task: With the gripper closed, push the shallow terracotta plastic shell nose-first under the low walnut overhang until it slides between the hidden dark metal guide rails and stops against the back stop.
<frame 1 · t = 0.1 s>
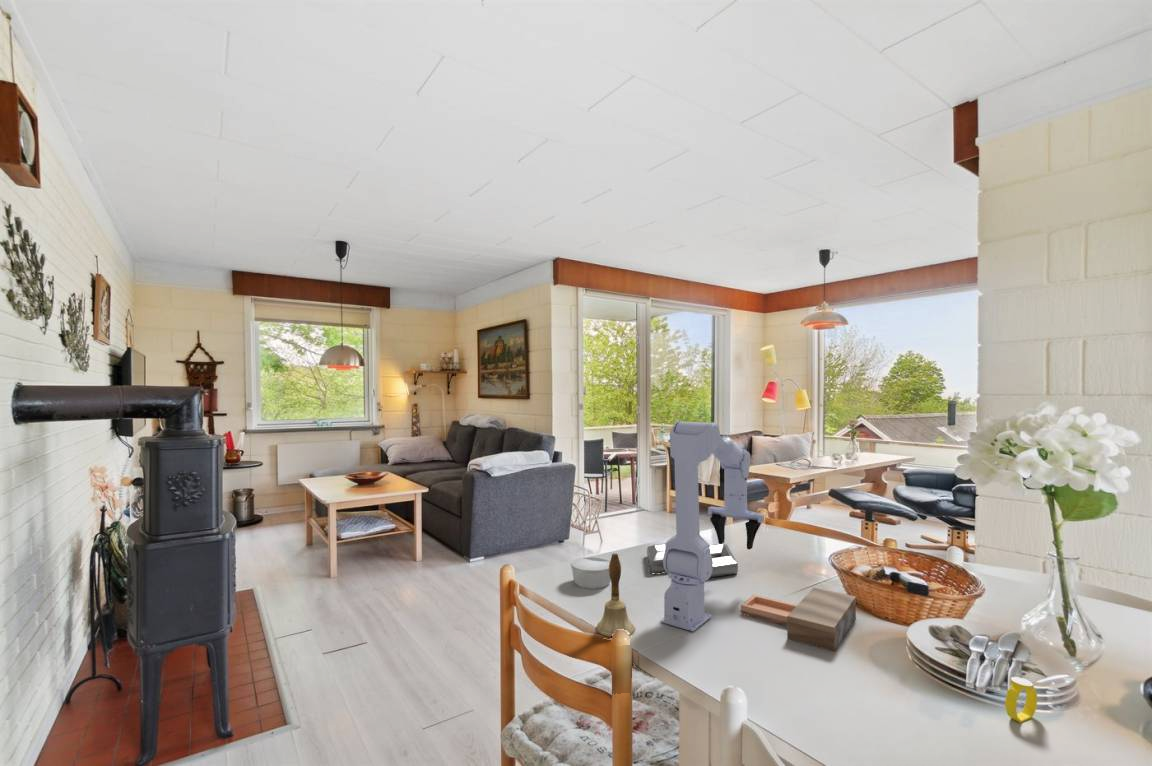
hand: (735, 545, 145), 10 cm above the table, tool pointing down, fingers open, 7 cm apart
hand bell: (615, 629, 118), on the table
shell: (773, 614, 126), on the table
ramekin: (592, 583, 146), on the table
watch: (1021, 719, 87), on the table
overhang: (823, 627, 119), on the table
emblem: (690, 567, 160), on the table
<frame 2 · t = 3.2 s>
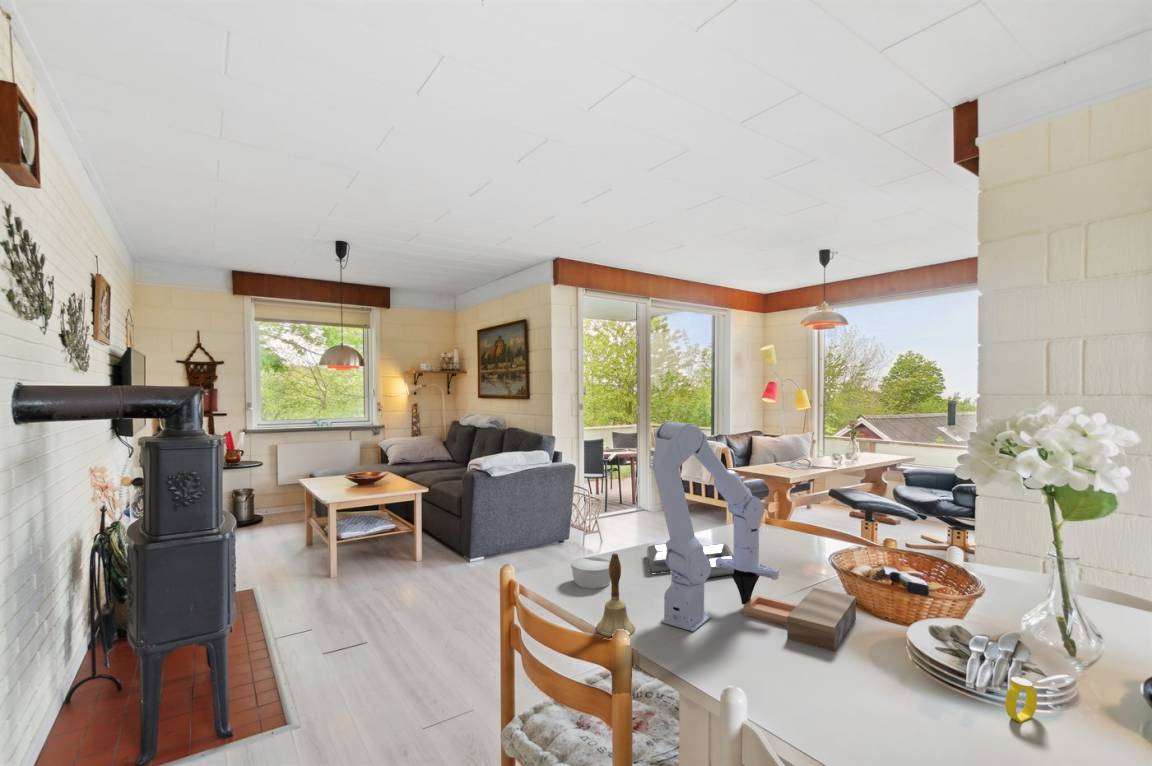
hand: (746, 603, 129), 1 cm above the table, tool pointing down, fingers closed
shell: (775, 615, 125), on the table, touching gripper
everything else where it was.
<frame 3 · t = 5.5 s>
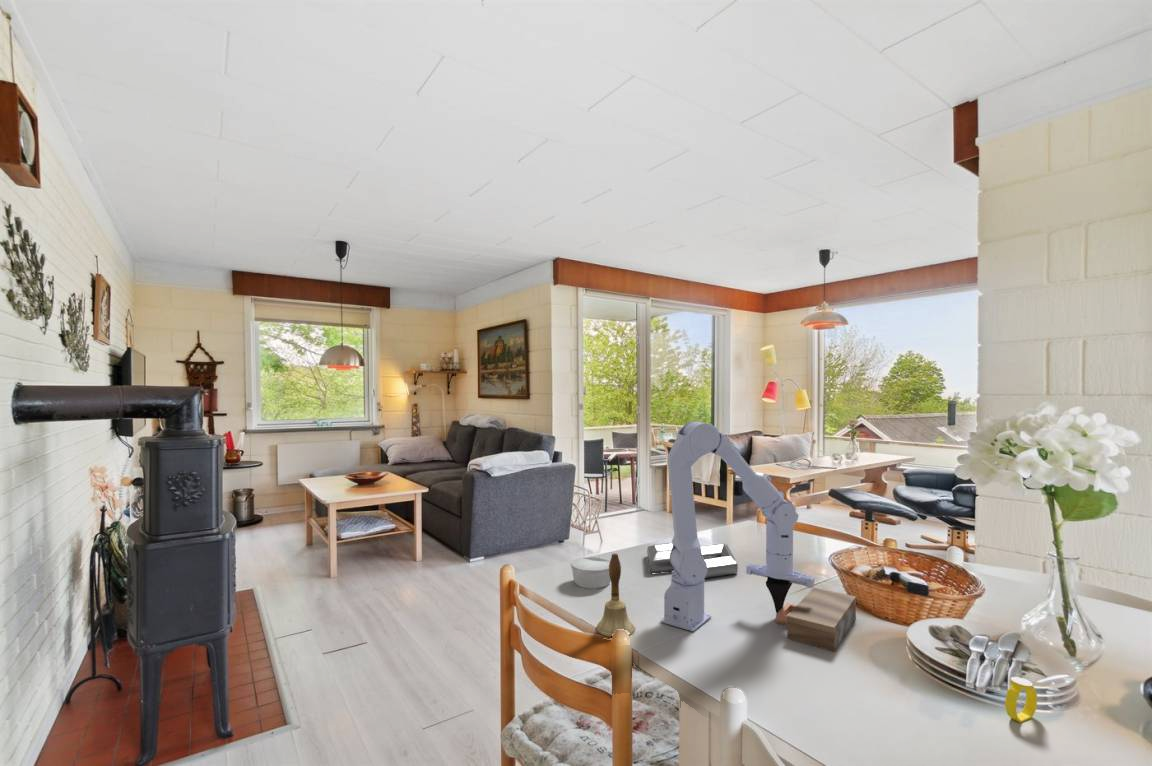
hand: (779, 611, 125), 1 cm above the table, tool pointing down, fingers closed
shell: (809, 624, 121), on the table, touching gripper, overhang
everything else where it was.
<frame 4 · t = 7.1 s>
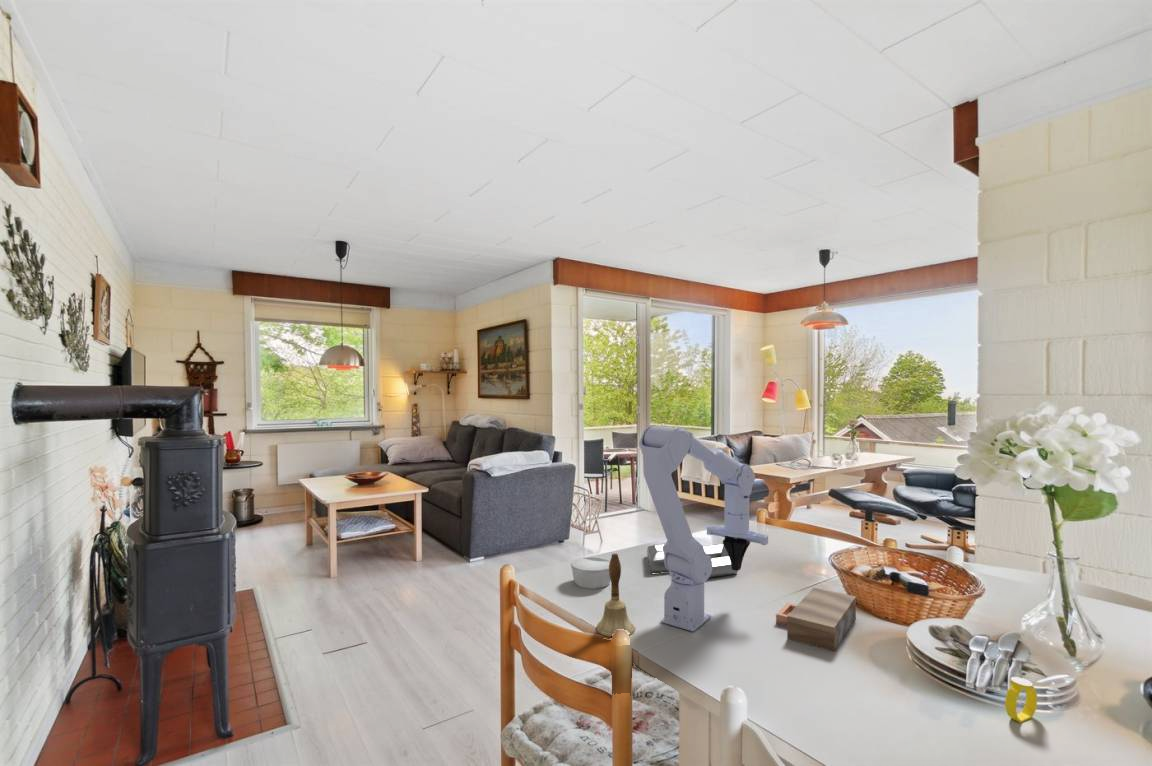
hand: (736, 569, 132), 8 cm above the table, tool pointing down, fingers closed
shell: (809, 624, 121), on the table
everything else where it was.
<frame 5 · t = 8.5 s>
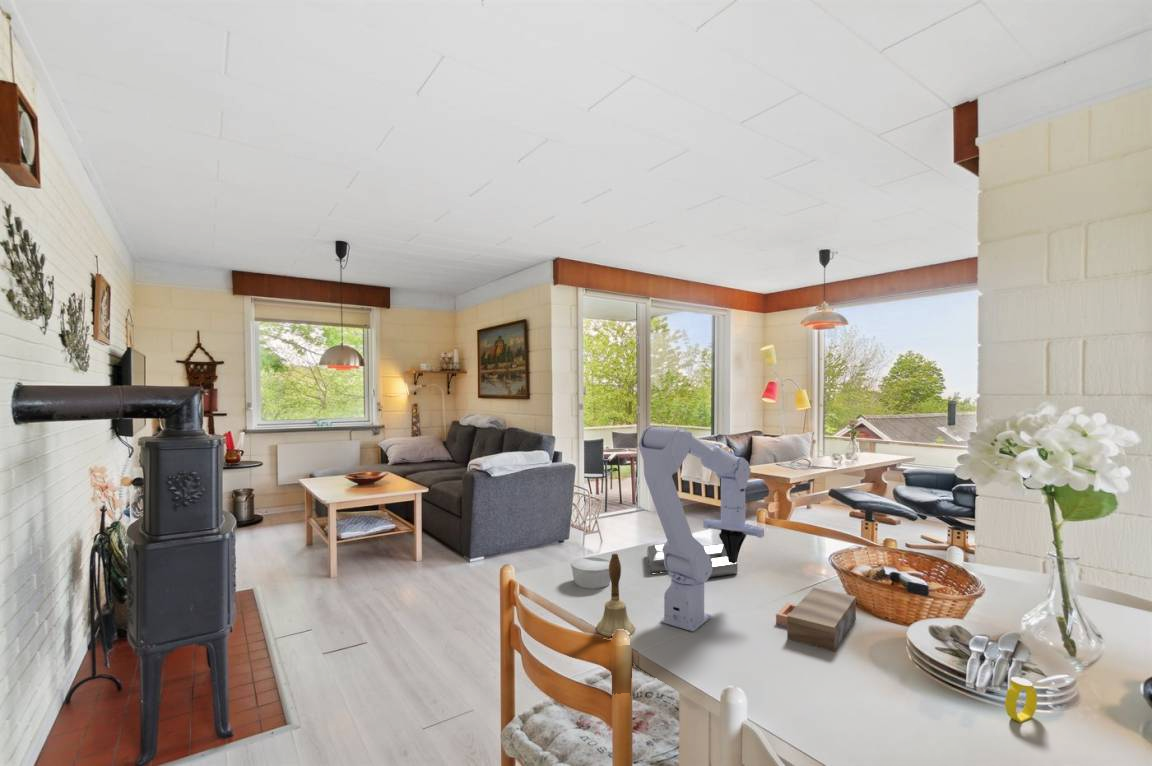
hand: (732, 562, 133), 9 cm above the table, tool pointing down, fingers closed
nothing on the table moved.
at the end: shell 0.2 cm from the target spot, on the table; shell tilted 0° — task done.
